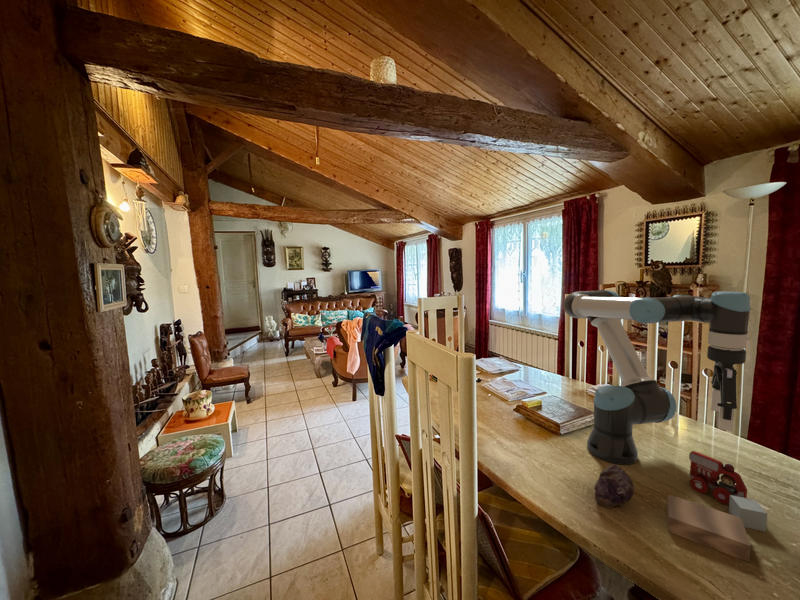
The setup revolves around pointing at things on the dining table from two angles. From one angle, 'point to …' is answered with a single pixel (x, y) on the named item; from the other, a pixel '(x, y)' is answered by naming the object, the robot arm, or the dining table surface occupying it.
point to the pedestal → (708, 527)
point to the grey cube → (748, 512)
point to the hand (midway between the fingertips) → (720, 419)
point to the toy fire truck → (715, 478)
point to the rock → (613, 487)
